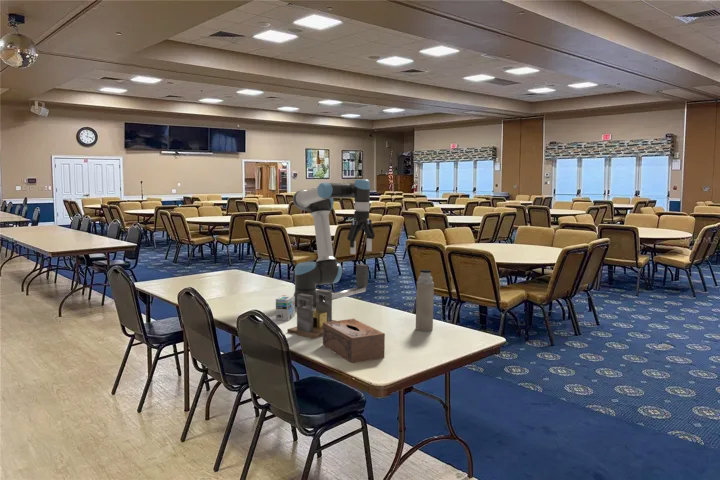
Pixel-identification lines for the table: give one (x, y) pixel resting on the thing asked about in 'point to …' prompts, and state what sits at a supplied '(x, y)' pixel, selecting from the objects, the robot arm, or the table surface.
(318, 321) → the block
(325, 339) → the tissue box cover
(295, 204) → the robot arm
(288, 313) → the light bulb box
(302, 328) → the shaft stand
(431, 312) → the thermos bottle
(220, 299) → the table surface
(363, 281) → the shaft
